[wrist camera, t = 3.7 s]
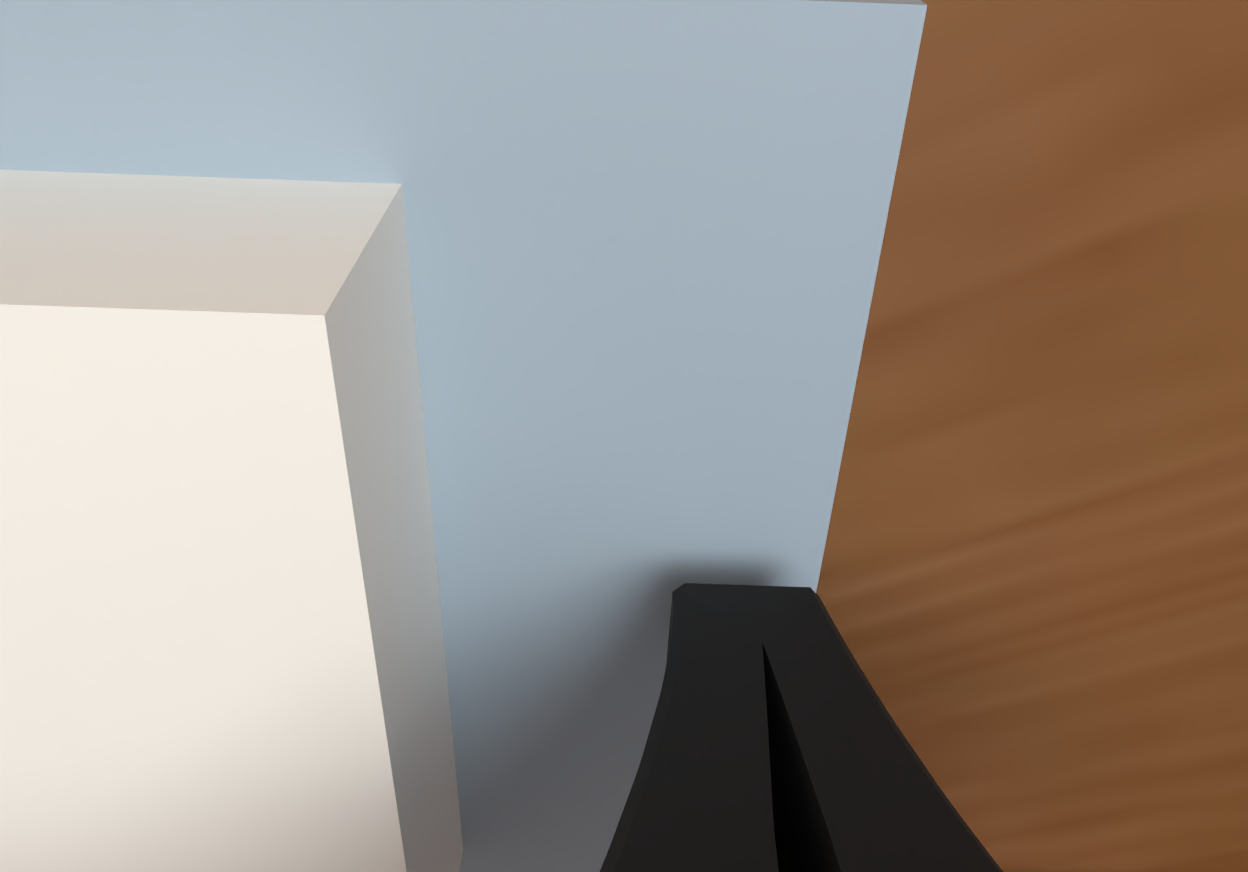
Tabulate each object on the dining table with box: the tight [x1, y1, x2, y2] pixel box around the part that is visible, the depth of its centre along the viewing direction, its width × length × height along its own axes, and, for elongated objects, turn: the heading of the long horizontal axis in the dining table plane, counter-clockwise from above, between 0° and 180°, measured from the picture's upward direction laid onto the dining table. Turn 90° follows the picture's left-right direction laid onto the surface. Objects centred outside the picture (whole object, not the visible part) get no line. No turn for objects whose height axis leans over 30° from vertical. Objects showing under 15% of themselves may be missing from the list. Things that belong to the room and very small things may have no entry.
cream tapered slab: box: [0, 170, 463, 872], centre depth 9 cm, size 9×6×2 cm, turn 178°
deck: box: [0, 0, 927, 872], centre depth 12 cm, size 12×17×4 cm
